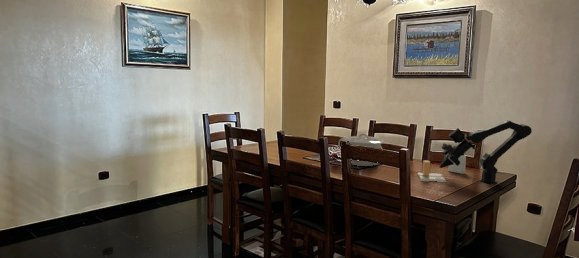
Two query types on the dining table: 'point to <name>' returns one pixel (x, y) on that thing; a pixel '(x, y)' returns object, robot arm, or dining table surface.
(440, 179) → the switch panel
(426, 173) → the switch knob
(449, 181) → the dining table surface
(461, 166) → the photo printer
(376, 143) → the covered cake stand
